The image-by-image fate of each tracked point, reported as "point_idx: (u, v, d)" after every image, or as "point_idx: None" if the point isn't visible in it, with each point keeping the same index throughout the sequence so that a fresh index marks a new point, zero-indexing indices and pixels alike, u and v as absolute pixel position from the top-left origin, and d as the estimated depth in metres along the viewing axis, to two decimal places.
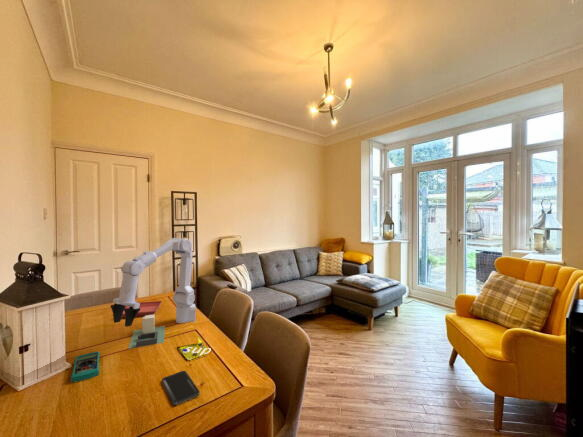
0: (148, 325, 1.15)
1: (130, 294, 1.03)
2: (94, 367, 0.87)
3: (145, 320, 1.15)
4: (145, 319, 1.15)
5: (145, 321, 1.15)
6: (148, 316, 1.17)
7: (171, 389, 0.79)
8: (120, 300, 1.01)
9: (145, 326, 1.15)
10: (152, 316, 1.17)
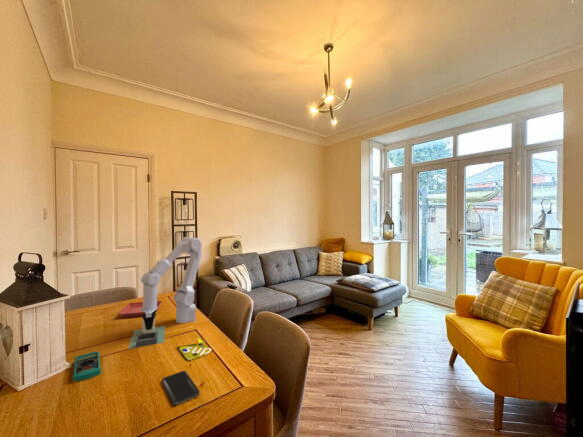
0: None
1: (147, 303, 1.14)
2: (95, 366, 0.87)
3: None
4: None
5: None
6: None
7: (171, 389, 0.79)
8: None
9: (145, 326, 1.15)
10: None
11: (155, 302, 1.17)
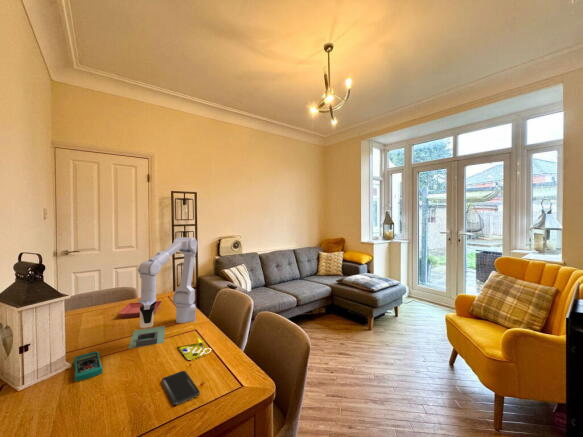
0: None
1: (145, 294, 1.05)
2: (97, 366, 0.88)
3: None
4: None
5: None
6: None
7: (171, 389, 0.79)
8: None
9: (143, 319, 1.06)
10: None
11: (154, 293, 1.08)
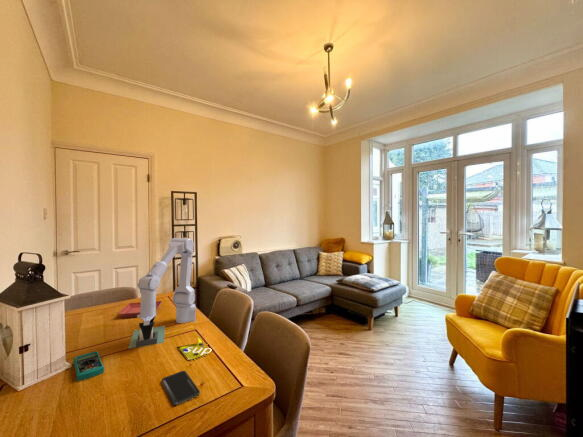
0: None
1: (145, 309, 1.05)
2: (98, 365, 0.88)
3: None
4: None
5: None
6: None
7: (171, 389, 0.79)
8: (140, 314, 1.07)
9: (142, 335, 1.06)
10: None
11: (154, 308, 1.08)
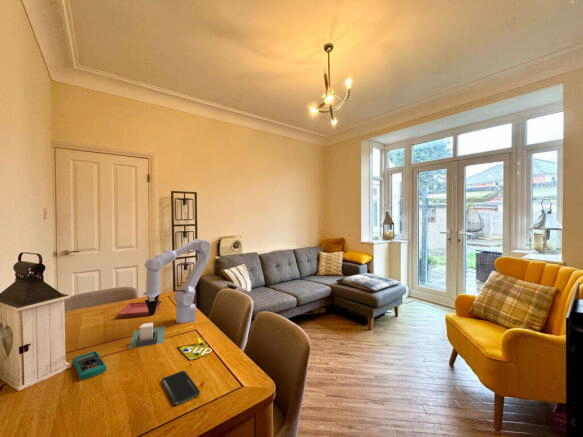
0: (146, 334, 1.06)
1: (150, 287, 1.17)
2: (100, 364, 0.89)
3: (142, 329, 1.06)
4: (142, 328, 1.06)
5: (142, 330, 1.06)
6: (146, 324, 1.08)
7: (171, 389, 0.79)
8: (146, 292, 1.18)
9: (142, 335, 1.06)
10: (150, 324, 1.08)
11: (158, 287, 1.19)
